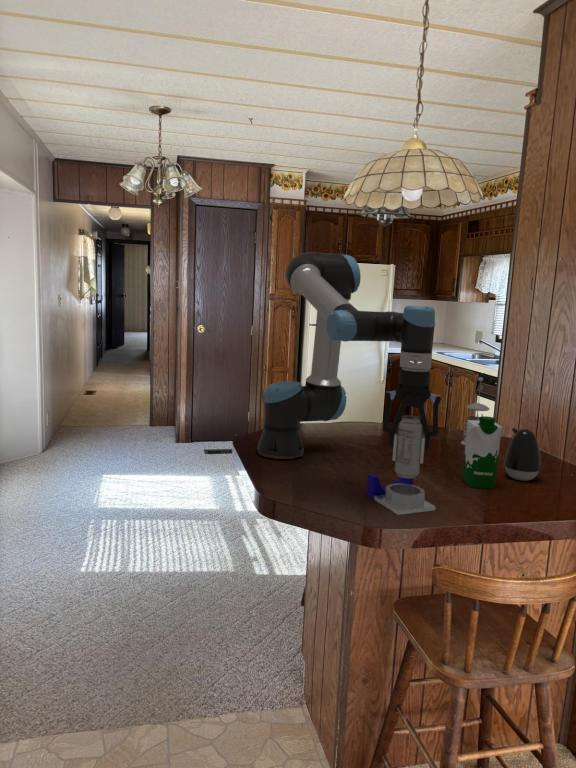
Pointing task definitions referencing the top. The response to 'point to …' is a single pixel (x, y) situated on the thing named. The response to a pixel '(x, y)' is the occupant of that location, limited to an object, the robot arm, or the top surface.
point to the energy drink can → (408, 446)
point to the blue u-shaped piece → (375, 487)
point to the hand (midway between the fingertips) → (407, 460)
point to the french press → (477, 408)
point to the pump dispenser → (523, 456)
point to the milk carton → (481, 452)
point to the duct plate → (406, 510)
